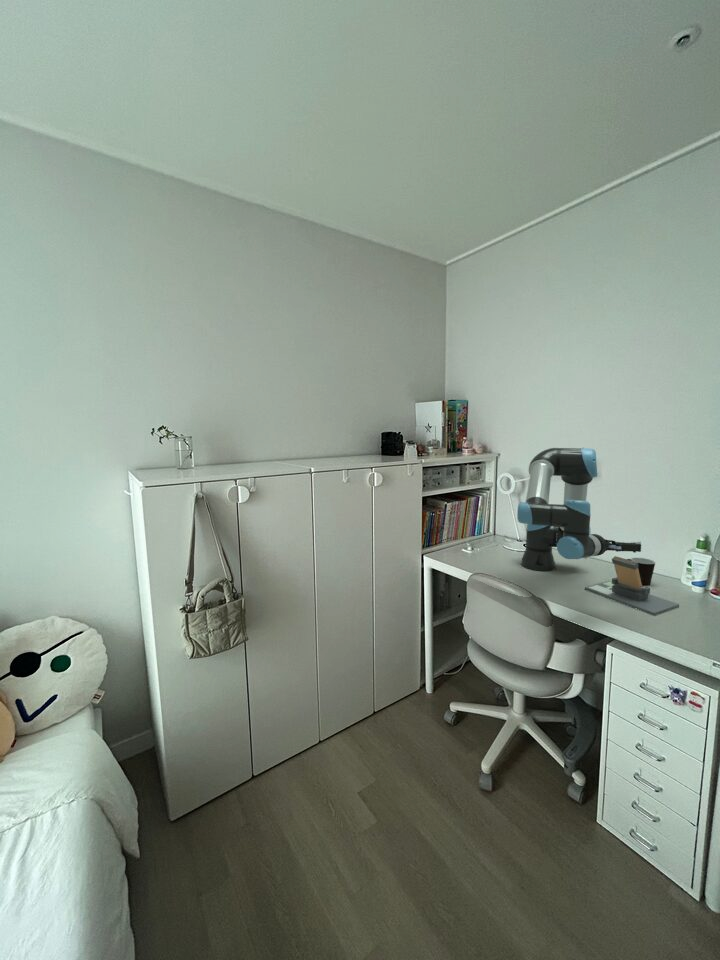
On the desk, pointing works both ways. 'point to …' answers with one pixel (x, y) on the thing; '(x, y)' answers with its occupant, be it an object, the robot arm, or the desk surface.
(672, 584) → the desk surface
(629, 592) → the switch unit
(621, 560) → the paddle lever
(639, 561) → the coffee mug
